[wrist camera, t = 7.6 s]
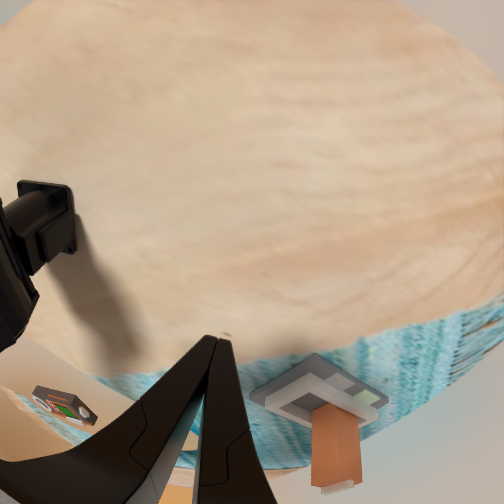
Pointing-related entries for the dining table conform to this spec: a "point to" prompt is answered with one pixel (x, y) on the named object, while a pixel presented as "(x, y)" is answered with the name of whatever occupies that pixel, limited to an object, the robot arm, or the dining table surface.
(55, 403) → the electronic device
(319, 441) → the orange juice carton
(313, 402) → the grey framed base plate
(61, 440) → the dining table surface
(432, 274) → the dining table surface
